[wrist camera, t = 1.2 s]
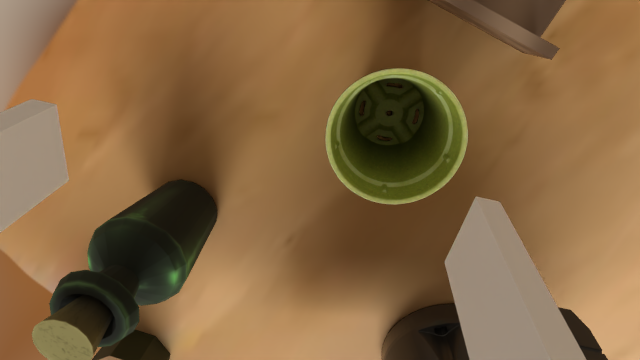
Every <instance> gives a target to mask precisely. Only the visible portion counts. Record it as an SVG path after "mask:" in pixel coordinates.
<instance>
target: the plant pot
mask: <svg viewBox="0 0 640 360" xmlns="http://www.w3.org/2000/svg"><path fill="white" fill-rule="evenodd" d="M388 83H393V84H395V83H399V84H401V85H402V86H403V88H401V89H400V88H397V87H391V86H390V87H388V86H387V85H386V84H388ZM364 100H365V101H366V104H365V106H364V115H363V116H361V115H360V113H359V111H360V106H361V103H362V101H364ZM416 109H418V111H419V117H418V120H417V122H416V123H415V124H413V123H412V121H413V119H414V116H415V112H416ZM387 111H392V115H391V116H388V115H387V114H386V113H387ZM378 135H379V136H383V137H387V138H388V137H390V138H392V139H391V140H390V141H385V140H380V139H378V138H377V136H378ZM325 142H326V150H327V155H328V158H329V161H330V164H331V166H332V168H333V170H334V172H335V173H336V175H337V176H338V178H339V179H340V181H341V182H342V183H343V184H344V185H345V186H346V187H347V188H348V189H350V190H351V191H352V192H354V193H355V194H357V195H359V196H361V197H363V198H365V199H367V200H370V201H373V202H377V203H382V204H405V203H410V202H415V201H418V200H420V199H423V198H425V197H427V196H429V195H431V194H433V193H435V192H436V191H438V190H439V189H440V188H442V187H443V186H444V185H445V184H446V183H447V182H448V181H449V180H450V179H451V178H452V177H453V175H454V174H455V173H456V171H457V170H458V168H459V166H460V164H461V162H462V160H463V158H464V155H465V152H466V147H467V142H468V127H467V121H466V116H465V113H464V111H463V108H462V106H461V104H460V102H459V100H458V99H457V97H456V96H455V95H454V93H453V92H452V91H451V90H450V89H449V88H448V87H447V86H446V85H445V84H444V83H442V82H441V81H440V80H438V79H437V78H435V77H433V76H431V75H429V74H427V73H424V72H421V71H417V70H413V69H406V68H391V69H384V70H380V71H377V72H374V73H371V74H368V75H366V76H364V77H362V78H361V79H359V80H357V81H356V82H355V83H353V84H352V85H351V86H349V87H348V88H347V89H346V90H345V91H344V92H343V93H342V95H341V96H340V97H339V98H338V100H337V101H336V103H335V105H334V106H333V108H332V110H331V113H330V115H329V118H328V122H327V126H326V135H325Z"/></svg>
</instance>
